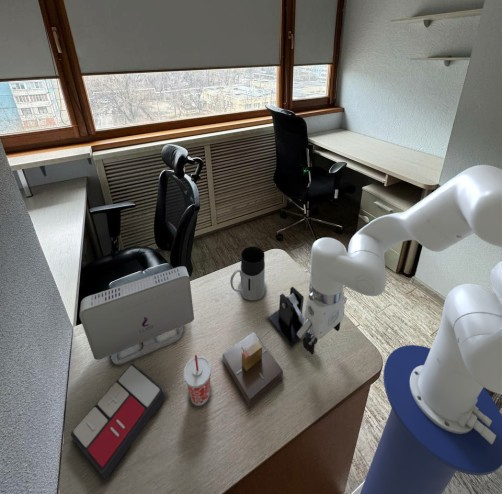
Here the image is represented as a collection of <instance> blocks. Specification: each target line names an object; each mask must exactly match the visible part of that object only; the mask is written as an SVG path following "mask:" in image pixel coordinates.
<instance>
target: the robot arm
mask: <svg viewBox="0 0 502 494" xmlns="http://www.w3.org/2000/svg"><path fill="white" fill-rule="evenodd" d="M473 234H474V235H475V236H476V237H478V238H479V239H480V240H482V241H484V242H485V243H488V244H489V245H491V246H496V247H499V248H502V169H501V168H499V167H496V166H494V165H489V164H478V165H473V166H470V167H468V168H466V169H464V170H462V171H461V172H459V173H458V174H457V175H455V176H453V177H452V178H450V179H449V180H447V182H445V183H444V184H442V185H441V186H439V187H438V188H437V189H435V190H433V192H431V193H429V194H428V195H426V196H425V197H424V198H422V199H421V200H420V201H418V202H417V203H415V204H413V205H412V206H411V207H410V208H408V209H406V210H404V211H401V212H393V213H390V214H385V215H382V216H379V217H376V218H374V219H373V220H371V221H370V222H368V224H366V225H364V226H363V227H362V228H360V229H359V230H358V231H357V232H355V233H354V235H352V237H351V238H350V240H349V243H348V247H347V248H348V249H347V248H346V247H345V245H344V243H342V242H341V241H340V240H337V239H336V238H333V237H321V238H318V239H317V240H314V242H313V244H312V245H311V250H310V271H309V287H308V291H309V293H308V295H307V299H306V303H305V307H304V308H305V309H304V316H303V318H304V325H303V326H302V327H301V329H300V330H299V331H298V332H297V336H298V337H299V338H300V341H301V342H302V347H303V349H305V351H306V352H309V353H310V355H312V356H313V355H314V354H315V349H316V347H315V346H316V344H315V342H314V340H315V338H317V339H318V340H319V339H323V338H324V337H325V336H327V335H328V334H329V333H330V332H331V331H332V330H333V329H334V330H335V331H336V332H339V331H340V329H341V322H342V320H343V319H344V317H345V308H346V307H345V306H346V303H347V300H348V297H347V296H345V290H344V287H346V288H348V289H350V290H352V291H354V292H356V293H358V294H361V295H364V296H367V297H377V296H380V295H381V294H383V293H384V291H385V290H386V286H387V274H386V262H385V261H386V260H385V253H386V252H388V251H389V250H391V249H392V248H394V247H395V246H397V245H399V244H401V243H403V242H407V241H416V242H417V243H418V244H420V245H421V246H422V247H423V248H425V249H427V250H429V251H432V252H436V253H438V252H444V251H445V250H446V249H449V248H450V247H452V246H454V245H455V244H457V243H459V242H461V241H462V240H464V239H466V238H468V237H470V236H472V235H473ZM489 283H490V284H491V287H492V290H493V291H492V290H491V289H490V288H487V287H485V286H483V285H480V284H475V283H462V284H458V285H456V286H455V287H453V288H452V289H451V290H450V291H449V292H448V293H447V295H446V297H445V300H444V304H443V308H442V313H441V320H440V324H439V327H438V331H437V333H436V335H435V337H434V339H433V342H432V344H431V347H430V352H429V354H428V357H427V359H426V362H425V364H424V365H421V366H418V367H416V368H415V369H414V370H413V371H412V373H411V376H410V389H411V393H412V395H413V398H414V400H415V401H416V403H417V405H418V406H419V408H420V409H421V410H422V412H423V413H424V414H425V415H426V416H427V417H428V418H429V419H430V420H431V421H433V422H434V423H435V424H436V425H438V426H439V427H441V428H443V429H445V430H447V431H449V432H452V433H456V434H464V433H467V432H469V431H471V430H472V428H474V429H475V430H476V431H478V432H479V433H480V434H481V436H483V437H484V438H485V439H486V440H487V441H488V442H489V443H491V444H493V442H494V440H495V438H496V435H495V434H494V433H493V432H492V431H490V430H489V429H488V428H487V427H486V426H484V425H483V424H482V423H480V422H479V421H478V420H477V417H478V418H479V419H480V420H482V422H484V423H485V424H486V425H487V426H488V427H489V426H490V424H491V422H492V421H491V420H490V419H489V418H488V417H487V416H485V415H484V414H483V413H481V412H480V411H479V410H478V409H479V408H477V407H476V406H475V405H476V403H477V401H478V400H477V397H478V396H479V394H480V392H481V391H482V389H483V387H484V388H485V390H487V391H490V392H492V393H495V394H498V395H502V260H500V261H499V262H497V264H496V265H494V267H493V268H492V269H491V270H490V273H489ZM309 330H310V331H311V332H312V333H313V334H312V336H311V337H310V336H309V335H308V334H307V333H308V331H309ZM476 416H477V417H476Z"/></svg>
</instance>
